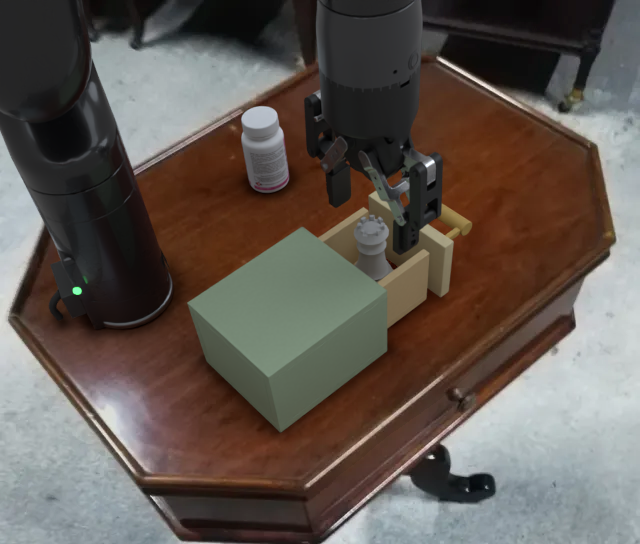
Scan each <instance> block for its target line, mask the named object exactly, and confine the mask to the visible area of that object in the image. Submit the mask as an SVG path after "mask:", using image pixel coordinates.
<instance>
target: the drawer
mask: <svg viewBox="0 0 640 544" xmlns="http://www.w3.org/2000/svg"><path fill="white" fill-rule="evenodd" d="M426 205H427V204H426ZM369 215H375V219H377V220H378V217H381V218H382V219H383V223H385V225H386V226H387V227H388V229H389V235H388V237H387V238H386V240H385V241H386V248H385V249H384V252H385V257H386V260H387V261H390V262H391V263H392V264H394V265H395V266H396V268H395V269H393V268H392V270H393V271H392V272H391V273H390V274H388V275H387V276H385V277H384V278H383V279H381V280H380V281H379V282H377V283H378V284H379V285H381V286H382V287H383V288H385V289H386V290H387V329H389V328H390V327H391V326H393V325H394V324H396V323H397V322H398V321H400V320H401V319H402V318H403V317H405V316H406V315H407V314H409V313H410V312H411V311H412V310H414V309H415V308H417V307H418V306H419V305H421V304H422V303H424V302H425V301H426V300H427V297H428V296H427V295H428V290H429V291H431V292H432V293H434V294H435V295H436V296H438V297H439V298H442V297H443V296H445V295H446V294H447V293H449V292H450V283H451V271H452V264H453V263H452V262H453V255H454V254H453V253H454V245H455V243H454V239H455V238H457V237H458V236H459V235H461V236H463V237H464V236H467V235H468V234H469V233H470V231H471V230H472V227H473V222H472V221H471V220H469V219H467V218H465V217H464V216H462V215H461V214H459V213H458V212H456V211H455V210H453V209H451V208H450V207H449V206H447V205H446V204H444V203H442V209H441V216H440V217H438V218H437V219H436V220H439V221H440V222H441V223H443V224H444V225H446V226H447V227H448V228H450V229H451V230H450V231H449V232H447V233H446V234H445V235H444V234H443V233H442V232H440V231H439V230H438V229H436V228H434V227H433V226H431V225H430V224H427V225H426V226H424V227H423V228H422V229H421V230H419V242H418V244H417V245H416V246H414V247H413V248H412V249H410V250H409V251H407V252H406V253H403V254H402V255H398V254H397V253H395V252H394V251H393V221H394V220H395V218H394V216H393V214H392V212H391V209H390V207H389V205H388V203H387V202H385V201H382V200H381V199H380V198H379V195H378V193H377V191H376V190H374V191H373V192H372V193H370V194H368V209H367V208H365V207H364V206H363V207H361V208H359V210H357V211H355V212H354V213H352V214H351V215H349V216H348V217H346V218H345V219H343V220H342V221H340V222H339V223H338V224H336V225H334V226H333V227H332V228H330V229H329V230H327V231H326V232H324V233H323V234H321V235H320V236H318V237H317V238H318V239H320V240H321V241H322V242H324V243H325V244H326V245H328V246H329V247H330V248H332V249H333V250H334V251H336V252H337V253H338V254H340V255H341V256H342V257H344V258H345V259H346V260H348V261H349V262H350V263H352V264H353V265H354V266H355V264H356V263H357V261H358V257H359V250H358V248H357V241H358V240H356V238H355V236H354V229H355V228H356V226H357V225H358V222H359V223H360V219H361V218H362V217H365V218H366V220H367V219H369Z"/></svg>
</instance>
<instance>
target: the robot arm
mask: <svg viewBox="0 0 640 544" xmlns="http://www.w3.org/2000/svg"><path fill="white" fill-rule="evenodd" d="M315 15H316V16H315V36H316V50H317V51H316V52H317V64H318V66H317V67H318V79H319V89H318V90H316V91H314V92H313V93H311V94H309V95H307V96H306V97H304V99H303V107H304V125H305V126H304V127H305V144H306V152H307V154H308V156H309V157H310V158H312V159H315V158H317V159H319V161H320V162H319V165H320V168H321V170H322V172H324V173H325V186H326V187H325V188H326V189H325V190H326V194H327V197H328V198H327V199H328V204H329V205H330V206H332V208H335V209H337V208H339V207H341V206H342V205H344V204H345V203H347V202H348V201H349V200H350V199H351V198H352V179H351V177H352V176H351V169H353V170H354V171H355V172H359V173H361V174H362V175H363V176H364V177H365V178H367V180H369V181H370V182H372V184H373V186H374V189H375V191H377V193H378V195H379V198H380V199H381V200H382V201H385V202H387V203H388V205H389V207H390V209H391V212H392V214H393V216H394V218H395V220H394V221H393V251H394V252H395V253H397V254H398V255H402V254H403V253H406V252H407V251H409V250H410V249H412V248H413V247H414V246H416V245H417V244H418V242H419V230H421V229H422V228H423V227H424V226H426V225H427V224H428V225H430V223H432V222H433V221H435V220H438V219H437V218H438V217H440V216H441V209H442V204H443V203H442V202H443V178H444V177H443V174H444V172H443V170H444V159H443V157H442V155H441V154H440V153H439V152H437V151H434V152H432V153H430V154H429V155H425V154H424V153H421V152H419V151H418V150H416V149H415V144H414V141H413V139H412V132H411V130H412V127H413V125H414V122H415V120H416V118H417V115H418V111H419V108H420V93H421V92H420V90H421V89H420V88H421V69H422V51H423V49H422V48H423V32H424V31H423V30H424V28H423V27H424V26H423V25H424V23H423V22H424V21H423V20H424V19H423V7H422V0H316V13H315ZM85 16H86V15H85V11H84V6H83V0H0V134H1V136H2V139H3V141H4V144H5V146H6V149H7V151H8V154H9V156H10V158H11V161H12V162H13V164H14V166H15V168H16V170H17V172H18V175H19V176H20V178H21V179H22V182H23V184H24V186H25V188H26V190H27V192H28V194H29V196H30V198H31V200H32V202H33V204H34V206H35V208H36V210H37V212H38V214H39V215H40V218H41V219H42V221H43V222H42V223H43V224H44V226H45V227H46V230H47V231H48V234H49V235H50V237H51V239H52V241H53V244H54V246H55V249H56V251H57V254H58V257H59V259H60V260H58V261H56V262H53V263H50V265H49V266H50V269H51V271H52V274H53V278H54V281H55V283H56V286H57V290H56V291H55V293H53V295H52V297H51V298H50V300H49V302H48V310H49V312H50V314H51V315H52V316H53V317H54V318H55V320H56V321H58V322H60V321H62V320H63V319H64V315H63V313H62V312H61V311H60V310H59V309H58V307H57V306H58V303H59V301H60V300H61V301H62V302H63V304H64V306H65V308H66V310H67V312H68V313H69V315H70V317H71V319H75V318H78V317H81V316H84V315H86V314H87V317H88V318H89V321H90V322H91V324H92V326H93V329H94V330H97V331H98V330H101V329H103V328H109V329H114V330H126V329H132V328H137V327H141V326H143V325H146V324H147V323H150V322H151V321H153V320H154V319H156V318H157V317H159V316H160V315H161V314H162V313H164V312H165V310H166V309H167V308H168V306H169V305H170V303H171V302H172V299H173V295H174V282H173V279H172V276H171V274H170V272H169V270H171V269H170V266H169V262H168V259H167V258H166V256H165V254H164V252H163V251H162V249H161V247H160V244H159V241H158V238H157V235H156V232H155V229H154V227H153V224H152V221H151V218H150V215H149V213H148V210H147V206H146V203H145V200H144V198H143V195H142V192H141V190H140V187H139V184H138V181H137V177H136V175H135V172H134V169H133V166H132V163H131V160H130V158H129V154H128V151H127V149H126V146H125V143H124V140H123V137H122V134H121V131H120V128H119V125H118V122H117V121H116V116H115V115H114V111H113V109H112V106H111V104H110V102H109V100H108V96H107V94H106V92H105V89H104V86H103V84H102V81H101V79H100V76H99V73H98V70H97V68H96V65H95V62H94V59H93V50H92V43H91V39H90V34H89V30H88V26H87V20H86V17H85ZM321 134H322V136H320V135H321ZM348 163H349V164H348ZM399 172H400V173H401V179H400V180H399V181H397V182H396V183H394V184H393V185H389V183H388V180H389V179H390V178H392V177H393V176H395V175H396V174H398V173H399ZM404 193H405V195H406V198H407V200H408V204H407V205H405V206H404V205H403V202H402V200H401V195H403V194H404ZM426 204H427V205H426Z"/></svg>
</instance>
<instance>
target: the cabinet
mask: <svg viewBox="0 0 640 544" xmlns="http://www.w3.org/2000/svg"><path fill="white" fill-rule="evenodd" d="M186 303H187V306H188V311H189V313H190V316H191V319H192V322H193V325H194V328H195V331H196V334H197V337H198V341H199V343H200V346H201V349H202V353H203V356H204V358H205V362H206V363H208V364H209V366H211V368H212V369H214V370H215V371H216V372H217V374H219V375H220V376H221V377H222V378H223V379H224V380H225V381H226V382H227V383H228V384H229V385H231V387H232V388H233V389H234V390H236V392H237V393H239V394H240V395H241V396H242V397H243V398H244V400H246V401H247V402H248V403H249V404H250V405H251V406H252V407H253V408H254V409H255V410H256V411H257V412H259V413H260V415H262V417H264V418H265V420H267V421H268V422H269V424H270V425H272V426H273V428H275V429H276V430H277V431H278V432H279V433H283V432H284V431H285V430H286V429H288V428H289V427H290V426H292V425H293V424H294V423H296V422H297V421H298V420H300V419H301V418H302V417H303V416H304V415H307V413H308V412H310V411H311V410H312V409H314V408H316V406H317V405H319V404H320V403H322V402H323V401H324V400H326V399H327V398H328V397H329V396H331V395H332V394H334V393H335V392H336V391H337V390H338V389H340V388H341V387H342V386H344V385H345V384H347V383H348V382H349V381H350V380H351V379H353V378H354V377H355V376H357V375H358V374H359V373H361V372H362V371H363V370H364V369H366V368H367V367H369V366H370V365H371V364H373V362H375V361H376V360H378V359H379V358H380V357H381V356H383V355H384V354H385V353H387V352H388V328H387V290H386V289H385V288H383V287H382V286H381V285H379V284H378V283H377V282H375V281H374V280H373V279H371V278H370V277H369V276H367V275H366V274H365V273H363V272H362V271H361V270H359V269H358V268H357V267H356V266H354V265H353V264H352V263H350V262H349V261H348V260H346V259H345V258H344V257H342V256H341V255H340V254H338V253H337V252H336V251H334V250H333V249H332V248H330V247H329V246H328V245H326V244H325V243H324V242H322V241H321V240H320V239H318V237H317V236H316V235H314V234H313V233H312V232H310V231H309V230H308V229H306V228H305V227H304V226H300V227H299V228H298V229H295V231H293V232H291V233H290V234H289V235H287V236H285V237H284V238H283V239H281V240H279V241H278V242H277V243H275V244H273V245H272V246H270V247H269V248H268V249H266V250H264V251H263V252H262V253H259V255H256V256H255V257H254V258H252V259H250V261H247V262H246V263H244V264H243V265H242V266H240V267H239V268H237V269H236V270H234V271H233V272H231V273H230V274H228V275H227V276H225V277H223V278H222V279H221V280H219V281H217V282H216V283H214V284H213V285H211V286H210V287H209V288H207V289H205V290H204V291H203V292H201V293H199V294H198V295H197V296H195V297H194V298H192V299H191V300H189V301H188V302H186Z"/></svg>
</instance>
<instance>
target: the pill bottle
mask: <svg viewBox="0 0 640 544" xmlns="http://www.w3.org/2000/svg"><path fill="white" fill-rule="evenodd" d="M240 121H241V127H242V133H241V136H240V137H241V146H242V147H241V148H242V152H243V156H244V162H245V168H246V173H247V178H248V182H249V185H250V186H251V188H252V189H253V190H255V191H257V192H259V193H263V194H270V193H275V192H278V191H280V190H282V189H283V188H285V187H286V186H287V185H288V183H289V181H290V173H289V172H290V171H289V164H288V157H287V150H286V142H285V134H284V130H283V129H282V127H281V126H280V121H279V115H278V113H277V111H276V110H275V109H274V108H272V107H271V106H265V105H260V106H254V107H251V108H249V109H247V110H245V112H243V114H242V115H241V120H240Z"/></svg>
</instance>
